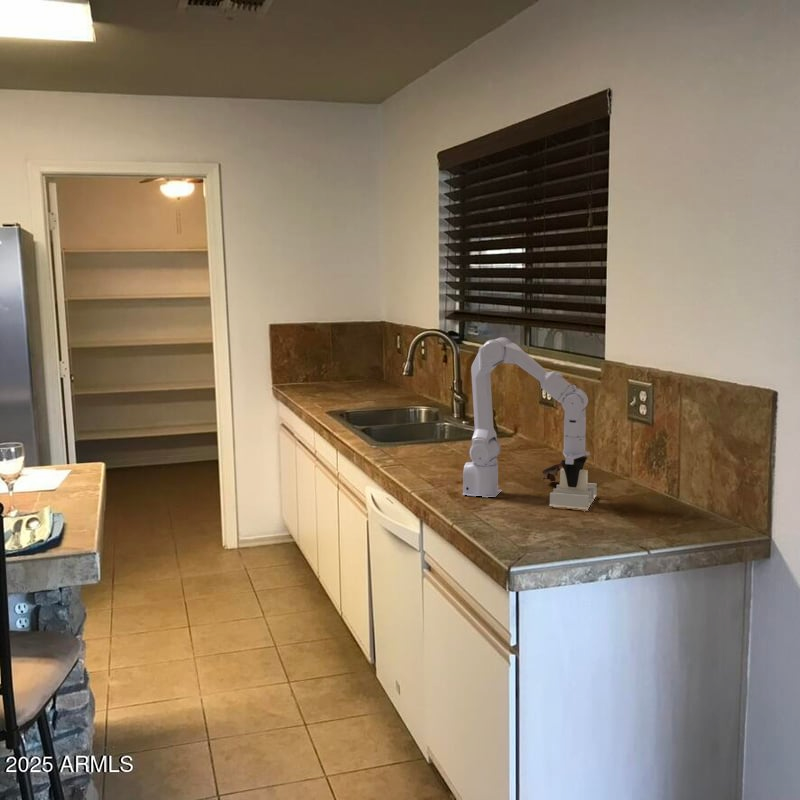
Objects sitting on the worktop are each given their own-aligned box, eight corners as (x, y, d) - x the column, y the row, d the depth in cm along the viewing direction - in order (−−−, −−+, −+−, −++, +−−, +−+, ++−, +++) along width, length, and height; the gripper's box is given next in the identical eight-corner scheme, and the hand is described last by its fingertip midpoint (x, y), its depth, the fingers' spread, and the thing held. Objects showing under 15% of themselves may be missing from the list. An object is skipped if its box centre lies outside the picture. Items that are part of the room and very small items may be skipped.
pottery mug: (560, 494, 245) (547, 467, 247) (546, 500, 254) (533, 475, 255) (593, 478, 250) (580, 452, 251) (578, 485, 258) (566, 460, 260)
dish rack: (549, 508, 229) (549, 493, 228) (560, 494, 242) (560, 480, 242) (587, 511, 225) (587, 496, 224) (596, 497, 239) (596, 483, 238)
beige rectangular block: (559, 499, 234) (560, 470, 233) (561, 497, 236) (561, 468, 235) (585, 501, 231) (586, 472, 230) (587, 499, 233) (587, 470, 232)
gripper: (585, 441, 223) (584, 492, 225) (594, 431, 236) (593, 479, 238) (557, 439, 225) (557, 490, 227) (568, 429, 239) (567, 477, 241)
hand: (573, 485), depth 233 cm, fingers open, 4 cm apart
